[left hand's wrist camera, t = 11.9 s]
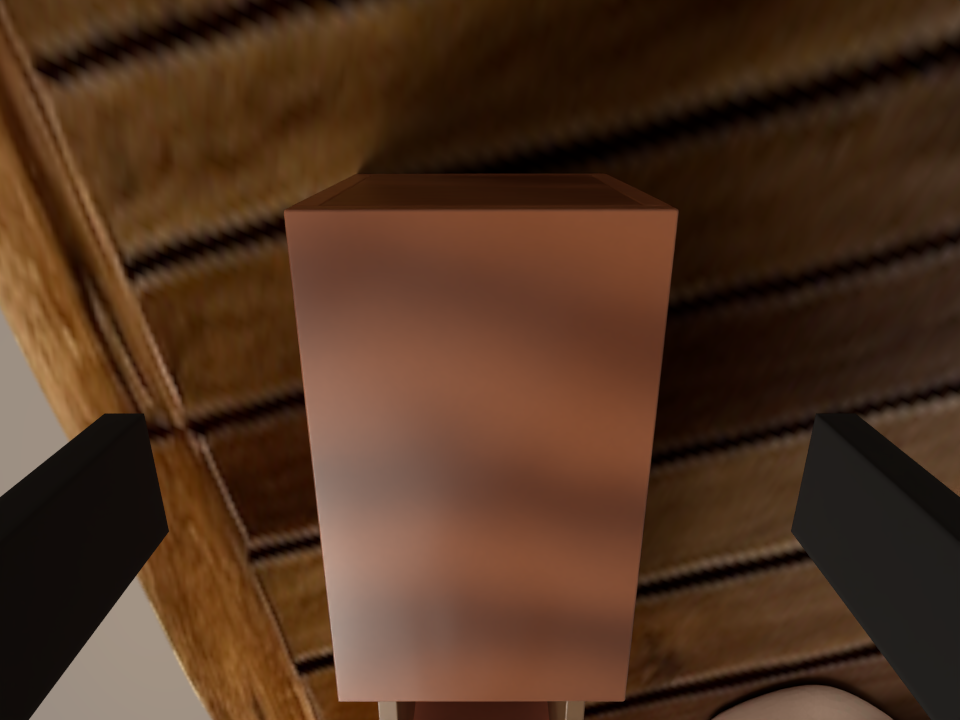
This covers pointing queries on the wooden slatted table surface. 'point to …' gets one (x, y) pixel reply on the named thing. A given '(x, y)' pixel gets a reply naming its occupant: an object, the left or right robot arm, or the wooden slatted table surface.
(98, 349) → the wooden slatted table surface
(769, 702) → the anatomical model
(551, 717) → the drawer
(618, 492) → the cabinet
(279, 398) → the wooden slatted table surface
